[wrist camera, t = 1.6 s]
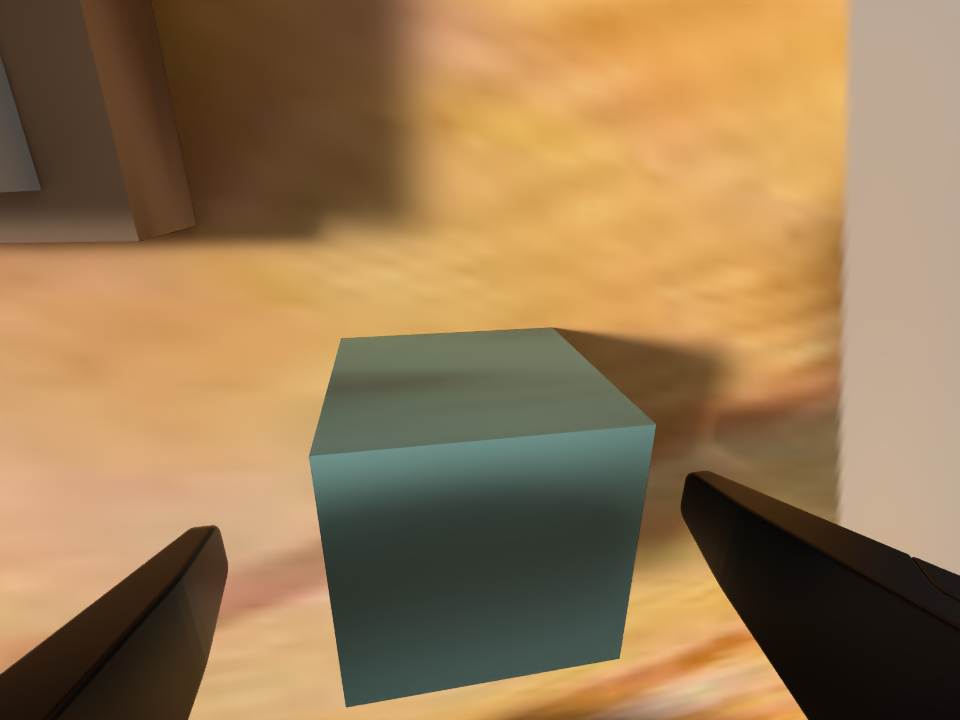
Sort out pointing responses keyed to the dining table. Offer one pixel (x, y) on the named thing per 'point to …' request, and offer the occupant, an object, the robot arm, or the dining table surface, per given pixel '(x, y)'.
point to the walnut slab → (92, 123)
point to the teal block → (475, 509)
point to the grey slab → (13, 145)
